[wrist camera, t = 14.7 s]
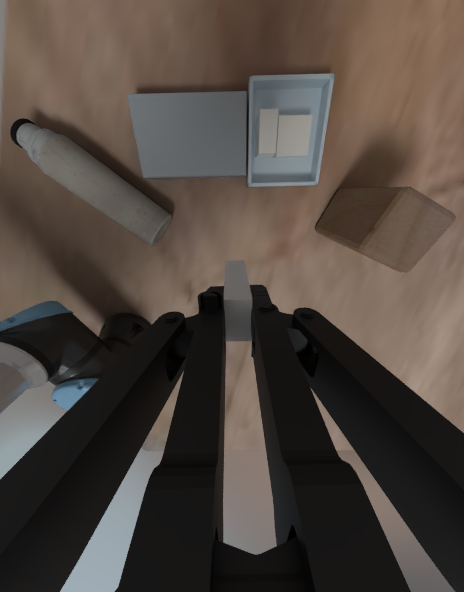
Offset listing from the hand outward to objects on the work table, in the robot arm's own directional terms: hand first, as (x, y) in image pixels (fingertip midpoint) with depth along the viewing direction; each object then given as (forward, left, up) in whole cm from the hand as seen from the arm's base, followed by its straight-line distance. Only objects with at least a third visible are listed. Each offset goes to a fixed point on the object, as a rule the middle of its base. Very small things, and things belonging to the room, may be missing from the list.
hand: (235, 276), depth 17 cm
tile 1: (+12, +15, -31) cm, 36 cm away
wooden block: (+26, 0, -35) cm, 43 cm away
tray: (+10, +15, -34) cm, 39 cm away
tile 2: (+5, +15, -31) cm, 35 cm away
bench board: (-7, +15, -34) cm, 38 cm away
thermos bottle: (-15, -1, -30) cm, 34 cm away
